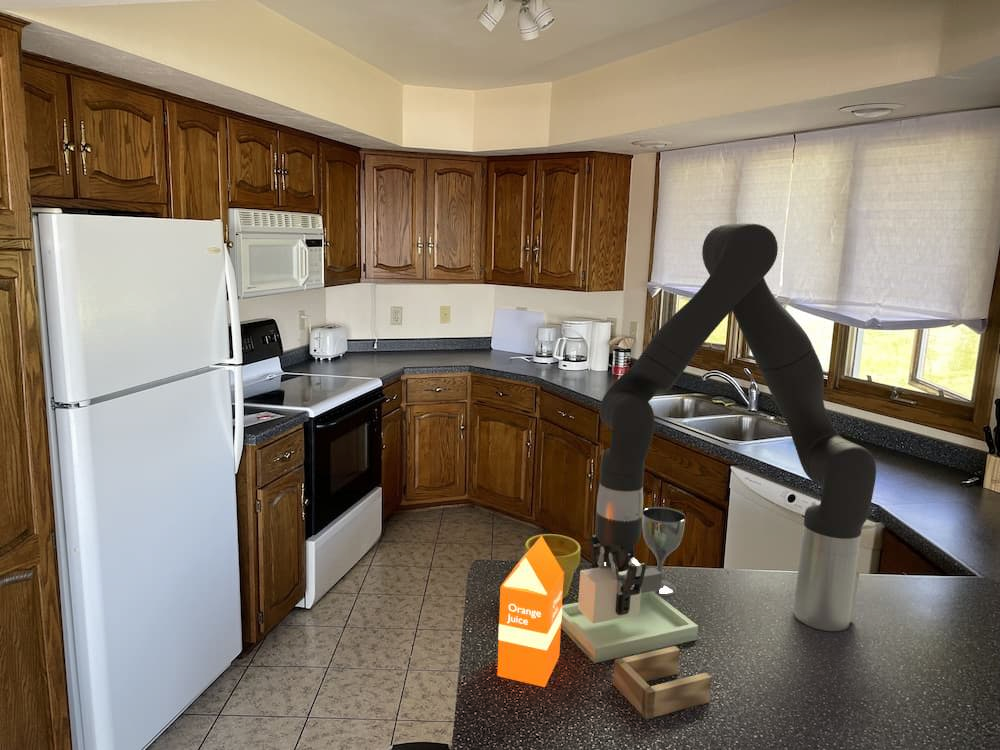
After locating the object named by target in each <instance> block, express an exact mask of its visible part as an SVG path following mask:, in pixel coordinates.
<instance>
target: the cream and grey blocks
mask: <svg viewBox="0 0 1000 750" xmlns="http://www.w3.org/2000/svg"><path fill="white" fill-rule="evenodd" d="M625 573H627V570H626V571H622V572H619V575H620V574H625ZM662 578H663V573H661V572H659V571H658V570H657V568H656V567H647V568H646V570H645V574H644V578H643V582H642V586H641V590H640V593H639V594H637V595H631V596H630V606H629V607H630V609H629V612H628V613H627V614H624V615H618V614H617V613H616V597H617V581H616V580H614V579H613V576H612V569H611V567H607V568H601V569H600V567H599V568H593V569H592V568H588V569H582V570H581V569H580V570H579V583H578V584H579V587H578V609H579V610H580V611H581V612H582V613H583V614H584V615H585V616H586V617H587V618H588V619H589V620H590V621H591V622H592V623H598V622H603V621H608V620H613V619H618V618H623V617H628V616H633V615H638V614H639V612H640V598H641V593H645V592H651V591H656V590H661V580H663V579H662ZM625 581H626V579H625V580H622V585H623V587H624V585H625ZM633 587H634V585H633Z"/></svg>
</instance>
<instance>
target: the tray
mask: <svg viewBox="0 0 1000 750" xmlns="http://www.w3.org/2000/svg"><path fill="white" fill-rule="evenodd" d="M561 630H562V631H563V632H564V633H565V634H566V636H567V637H569V638H570V639H571V640H572V642H573V643H574V644H575V645H577V646H578V648H579V649H580V650H581V651H582V652H583V653H584V654H585V655H586V656H587V657H588V658H589V659H590V660H591V662H592V663H594V664H597V663H602V662H606V661H611V660H616V659H620V658H625V657H629V656H633V655H638V654H642V653H646V652H651V651H655V650H660V649H664V648H668V647H673V646H676V645H682V644H685V643H689V642H692V641H693V642H694V641H697V640H698V634H699V633H698V632H699V625H698V624H696V623H695V622H694V621H692V619H690V618H688V617H687V616H686V615H684V614H683V613H682V612H680V610H678V609H676V607H674V606H673V605H671V604H670V603H669V602H668V601H666V599H664V598H662V596H659V595H657V594H656V593H655V592H653V591H651V592H645V593H641V598H640V612H639V614H638V615H633V616H628V617H623V618H618V619H613V620H608V621H603V622H598V623H592V622H591V621H590V620H589V619H588V618H587V617H586V616H585V615H584V614H583V613H582V612H581V611H580V610H579V609H578V602H574V603H573V602H572V603H567V604H562V619H561ZM632 654H633V655H632Z"/></svg>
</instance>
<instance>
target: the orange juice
mask: <svg viewBox="0 0 1000 750" xmlns="http://www.w3.org/2000/svg"><path fill="white" fill-rule="evenodd" d="M563 575H564V572H563V571H562V569H561V568H560V566H559V564H558V562H557V561H556V559H555V557H554V556H553V554H552V552H551V551H550V549H549V547H548V546H547V544H546V542H545V541H544V539H543V537H542V536H541V537H540V538H539V539H538V540H537V542H536V543H535V544H534V545H533V546H532V548H531V549H530V550H529V551H528V552H527V553H526V555H525V554H524V555H523V557H521V559H520V560H519V562H518V563H516V565H515V566H514V568H513V569H512V571H510V573H509V574H508V576H507V577H506V578H505V580H504V581H503V582H502V583H501V586H500V587H499V588H500V589H499V591H500V594H499V620H498V622H499V623H498V638H497V639H498V647H497V673H496V676H497V677H500V678H505V679H508V680H513V681H518V682H521V683H526V684H530V685H534V686H539V687H543V688H545V687H546V685H547V684H548V681H549V679H550V677H551V675H552V673H553V670H554V668H555V667H556V665H557V662H558V660H559V657H560V653H561V652H560V648H561V647H560V646H561V630H562V628H561V619H562V605H563V599H562V595H563Z"/></svg>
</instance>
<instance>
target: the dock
mask: <svg viewBox="0 0 1000 750" xmlns="http://www.w3.org/2000/svg"><path fill="white" fill-rule="evenodd" d="M680 656H681V649H680V648H678V647H677V646H676V645H672V646H668V647H663V648H659V649H655V650H650V651H646V652H641V653H637V654H633V655H628V656H624V657H620V658H615V659H614V667H613V680H612V681H613V682H612V684H613V686H614V687H615V688H616V689H617V690H618V691H619V692H620V693H621V694H622V695H623V696H624V697H625V699H626V700H628V702H629V703H631V705H632V706H633V707H634V708H635V709H636V710H637V711H638V712H639V714H641V715H642V716H643V718H645V720H649V719H652V718H656V717H660V716H663V715H667V714H670V713H674V712H677V711H680V710H684V709H688V708H689V709H690V708H692V707H696V706H699V705H704V704H706V703H710V702H711V701H710V700H711V689H712V683H713V682H712V681H713V679H712V678H713V676H711V674H710V673H708V672H703V673H699V674H695V675H690V676H686V677H683V678H679V679H673V680H671V681H667V682H662V683H660V684H655V685H649V683H647V682H649V681H650V682H651V681H653V680H657V679H662V678H667V677H670V676H675V675H678V674H679V667H680Z"/></svg>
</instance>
